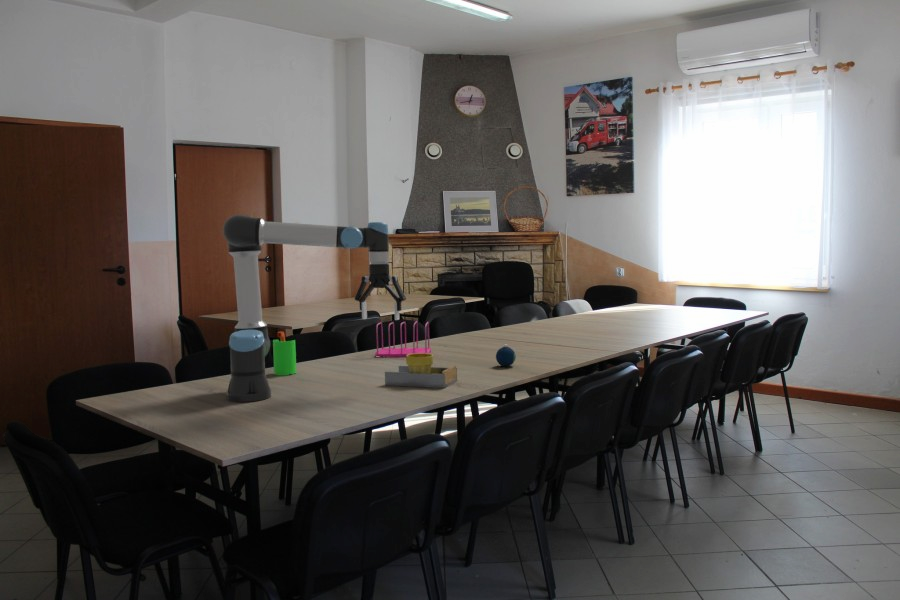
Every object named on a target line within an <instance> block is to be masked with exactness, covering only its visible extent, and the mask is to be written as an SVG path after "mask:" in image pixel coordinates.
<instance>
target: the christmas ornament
mask: <svg viewBox="0 0 900 600" xmlns="http://www.w3.org/2000/svg"><path fill="white" fill-rule="evenodd" d="M495 359H496V362H497V364H499V365H500V366H502V367H505V366H506V367H510V366H512V365H513V364H514V363H515V362H516V352H515V351H514V349H513V348H511V347H509V345H508V344H507V343H505V344H503V346H502V347H500V348H499V349H498V350H497V352H496V354H495Z"/></svg>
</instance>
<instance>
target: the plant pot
mask: <svg viewBox="0 0 900 600" xmlns="http://www.w3.org/2000/svg"><path fill="white" fill-rule="evenodd" d="M405 363H406V365H407V366H408V367H409V372H410V373H430V370H431V367H432V365H433V364H434V355H433V353H430V354H428V353H413V354H408V355H406V357H405Z"/></svg>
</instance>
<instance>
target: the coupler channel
mask: <svg viewBox="0 0 900 600" xmlns="http://www.w3.org/2000/svg"><path fill="white" fill-rule="evenodd" d="M457 382H458V368H457V366H456V365H452V366H449V367H443V366H442V367H441V366H440V367H439V366H431V370H430V373H410V372H409V367H408V365H399V366H398V371H387V370H386V371H384V385H385V386H397V387H398V386H400V387H414V388H417V387H420V388H434V389H435V388H437V389H446V388H448V387H449V386H451V385H453V384H454V383H457Z"/></svg>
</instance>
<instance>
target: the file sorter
mask: <svg viewBox="0 0 900 600" xmlns="http://www.w3.org/2000/svg"><path fill="white" fill-rule="evenodd" d="M403 324H404V347H403V335H402V334H403V331H402V330H403V329H402V326H403ZM379 325H381V326H380V330H381V348H380V349H379V334H378V333H379V332H378V331H379V330H378V329H379V328H378V327H379ZM391 325H392V334H393V335H392V336H393V343H392V344H393V348H392V347H391V333H390V331H391V330H390V327H391ZM424 325H425V326H424V341H425V343H424V346H425V347H419V332H418V331H419V329H418V328H419V327H418V326H419V323H418V321H417V320H416V321H415V322H414V323H413V326H412V327H413V328H412V329H413V333H412V335H413V336H412V338H413V339H412V340H413V341H412V342H413V343H412V344H413V345H412V347H407V324H406V321H403V322H401V323H400V328H399V329H400V347H396V346H395V323H394V321H392V322H390V323H388V328H387V329H388V348H387V347H385V348H384V339H383V338H384V333H383V332H384V329H383V327H384V326H383V322H378V323H377V324H376V328H375V330H376V331H375V333H376V353H375V355H374V356H389V357H388V358H406V355H408V354H413V353H428V354H429V353H430V354H431V352H432V347H430V323H429V321H427V322H426V323H425V324H424ZM415 328H416V331H415ZM415 332H416V338H415ZM415 339H416V342H415ZM415 343H416V347H415ZM430 351H431V352H430Z"/></svg>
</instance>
